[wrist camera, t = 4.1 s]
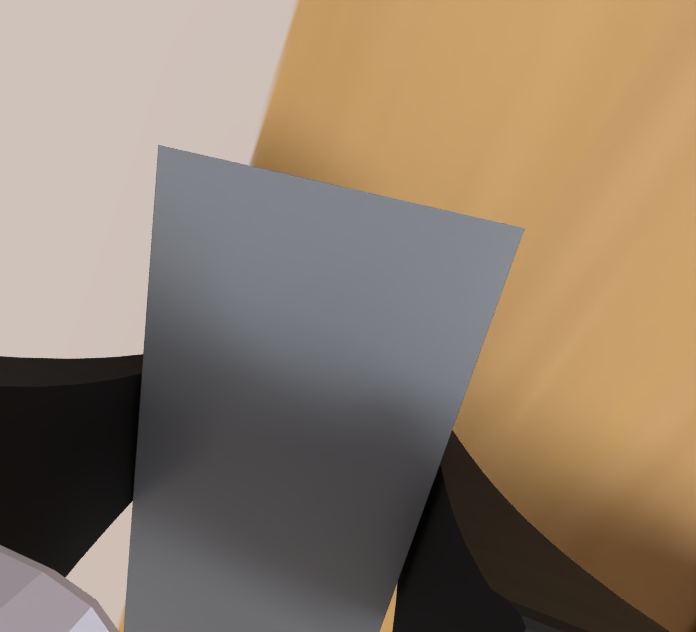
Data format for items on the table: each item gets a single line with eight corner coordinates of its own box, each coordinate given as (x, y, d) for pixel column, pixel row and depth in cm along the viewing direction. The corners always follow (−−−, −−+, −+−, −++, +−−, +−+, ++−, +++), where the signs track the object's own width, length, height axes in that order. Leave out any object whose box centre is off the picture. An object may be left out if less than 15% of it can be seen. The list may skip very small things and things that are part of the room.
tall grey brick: (474, 230, 11) (524, 228, 5) (371, 550, 14) (333, 759, 9) (289, 187, 12) (158, 144, 6) (236, 497, 15) (122, 655, 9)
